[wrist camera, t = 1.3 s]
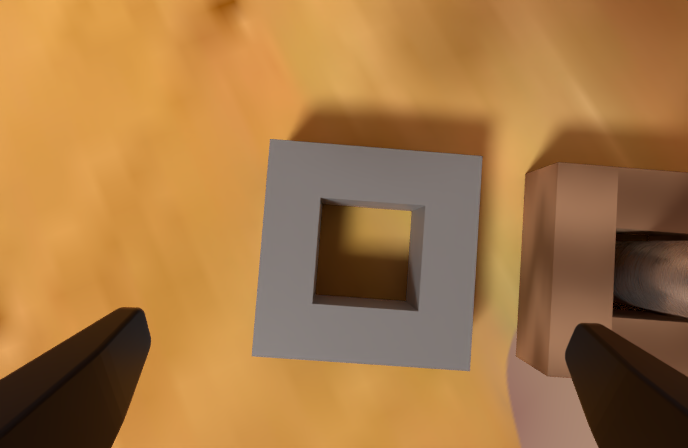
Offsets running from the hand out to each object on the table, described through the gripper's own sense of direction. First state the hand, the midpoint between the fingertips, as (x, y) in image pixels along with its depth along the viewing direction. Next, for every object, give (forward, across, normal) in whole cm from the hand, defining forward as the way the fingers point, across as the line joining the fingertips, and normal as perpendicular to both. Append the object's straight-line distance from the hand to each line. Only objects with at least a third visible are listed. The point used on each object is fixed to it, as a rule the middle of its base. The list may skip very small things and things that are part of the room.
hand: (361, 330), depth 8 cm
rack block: (+14, -1, +7) cm, 15 cm away
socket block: (+13, -16, +7) cm, 22 cm away
